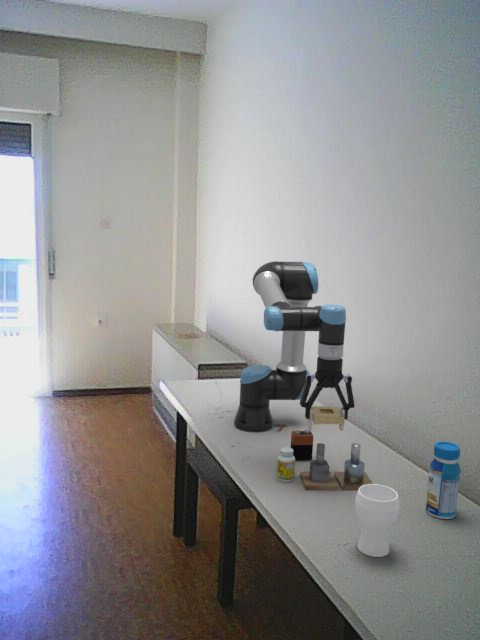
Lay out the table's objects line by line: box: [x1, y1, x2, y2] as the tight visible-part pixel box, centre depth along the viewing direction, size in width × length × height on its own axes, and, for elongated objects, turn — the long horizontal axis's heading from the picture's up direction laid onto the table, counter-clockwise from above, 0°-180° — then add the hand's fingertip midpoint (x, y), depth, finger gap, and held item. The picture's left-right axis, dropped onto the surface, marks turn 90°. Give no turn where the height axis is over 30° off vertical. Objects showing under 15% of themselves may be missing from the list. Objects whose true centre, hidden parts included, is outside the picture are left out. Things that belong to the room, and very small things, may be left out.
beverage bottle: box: [425, 441, 462, 520], centre depth 166 cm, size 8×8×20 cm
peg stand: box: [333, 442, 374, 491], centre depth 183 cm, size 10×10×12 cm
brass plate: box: [312, 405, 345, 425], centre depth 180 cm, size 9×9×2 cm
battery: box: [290, 428, 314, 462], centre depth 201 cm, size 4×7×10 cm, turn 97°
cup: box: [354, 483, 400, 558], centre depth 146 cm, size 11×11×15 cm
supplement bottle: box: [276, 446, 296, 483], centre depth 185 cm, size 5×5×10 cm
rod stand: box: [299, 442, 340, 491], centre depth 182 cm, size 10×10×12 cm
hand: (325, 429), depth 180 cm, fingers closed on brass plate, 9 cm apart
